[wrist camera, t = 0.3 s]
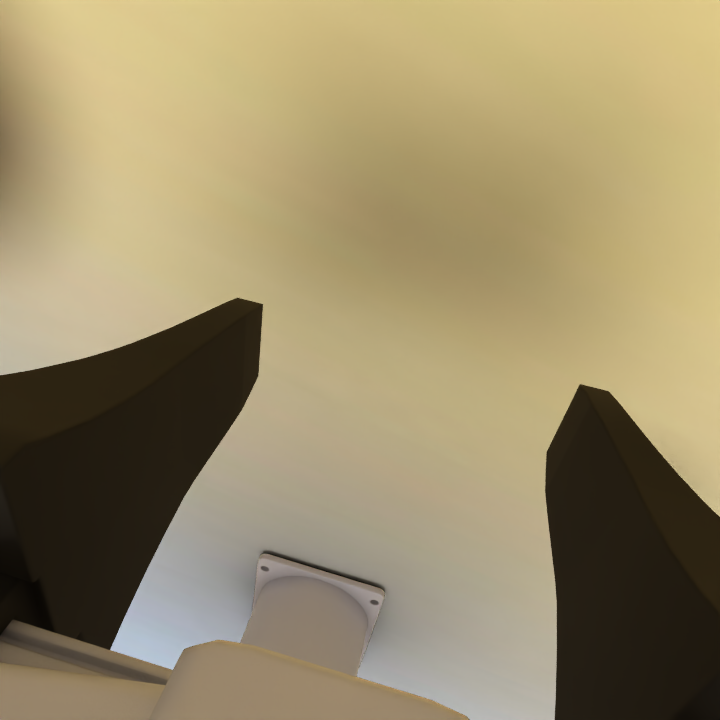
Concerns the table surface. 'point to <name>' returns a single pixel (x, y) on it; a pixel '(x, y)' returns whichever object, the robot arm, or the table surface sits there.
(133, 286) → the table surface
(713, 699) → the robot arm
